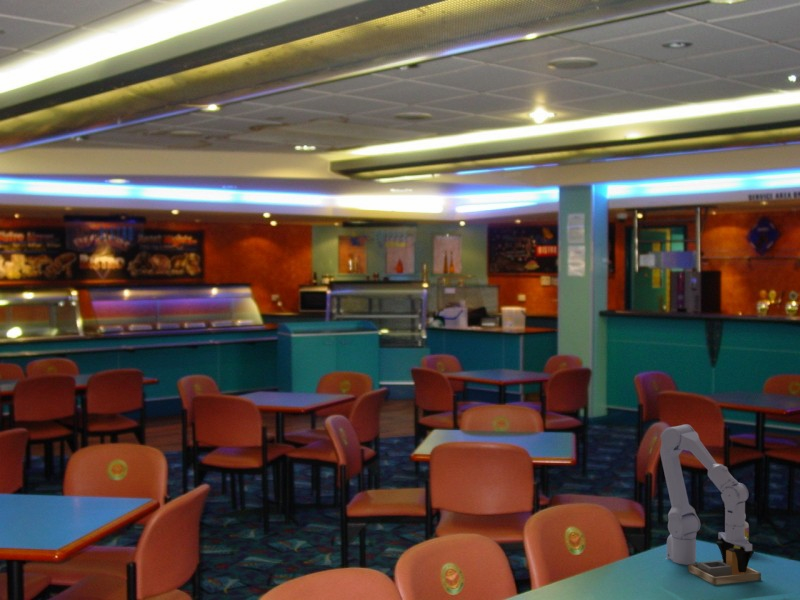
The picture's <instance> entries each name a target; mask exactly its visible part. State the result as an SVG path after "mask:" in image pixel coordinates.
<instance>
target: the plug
mask: <svg viewBox="0 0 800 600" xmlns="http://www.w3.org/2000/svg"><path fill="white" fill-rule="evenodd" d="M734 549H738V548H730V549H729V550H726V564H728V565H730V566H732V575H739V574H743V572H739V571H738V562H737V557H736V554H735V551H734Z"/></svg>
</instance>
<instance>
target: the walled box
mask: <svg viewBox="0 0 800 600" xmlns="http://www.w3.org/2000/svg"><path fill="white" fill-rule="evenodd" d="M720 561H721V562H723V560H720ZM687 572H689V573H691V574H693V575H694V576H697V577H698V578H700V579H702V580H704V581H706V582H708V583H710V584H711V585H714V586H716V585H717V586H718V585H726V584H727V585H728V584H734V583H735V584H736V583H743V582H745V583H746V582H754V581H761V580H762V573H761V572H760V571H757V570H755V569H753V568H751V567H750V566H747V569H746V572H743V574H739V575H729V576H720V577H714V576H712V575H710V574H708V573H706V572H704V571H702V570H700V569H698V563H694V564H689V565H687Z"/></svg>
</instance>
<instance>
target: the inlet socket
mask: <svg viewBox="0 0 800 600" xmlns="http://www.w3.org/2000/svg"><path fill="white" fill-rule="evenodd" d="M721 561H722V560H710V561H702V562H701V561H700V562H697V564H698V569H700V570H702V571H704V572H706V573H708V574H710V575H712V576H714V577H720V576H729V575H732V566H730V565H728V564H726V563H724V562H721Z"/></svg>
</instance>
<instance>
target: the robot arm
mask: <svg viewBox="0 0 800 600" xmlns="http://www.w3.org/2000/svg"><path fill="white" fill-rule="evenodd" d="M660 440H661V444H660V449H659V455H660V458H661V459H660V460H661V464H662V468H663V472H664V473H663V474H664V477H665V483H666V487H667V492H668V495H669V501H670V506H671V508H670V510H669V511H668V514H667V518H668V523H667V529H668V532H669V535H668V537H667V539H666V558H664V560H671V561H672V562H674V563H675V564H679V565H687V566H688V565H689V564H697V563H696V562H697V561H696V560H697V555H696V554H697V552H696V551H697V540H696V539H697V532H698V531H699V530H700V528H701V521H700V518H699V517H698V515H697V513H696V510H695V508H694V507H693V506H692V505H691V504H690V502H689V497H688V493H687V488H686V484H685V480H684V476H683V470H682V466H681V461H680V457H679V455H680V454H681V453H682V451H683V450H684V451H687V452H690V453H692V454H693V456H694V457H695V458H696V459H697V460H698V461H699V462H700V463H701V464H702V465H703V466H704V468H706V469H707V477H708V478H709V479H710V481H711V482H712V483H713V484H714V486H715V487H716V488H717V489H718V490H719V491H720V493H721V494H720V496H721V500H722V502H723V504H724V508H725V509H724V532H723V531H721V532H720V531H719V532H718V535H717V536H718V541H716V545H717V547H718V549H719V552H720V554H721V558H722V561H723V562H724V563H726V550H729V549H730V548H734V545H736V546H738V547H740V549H734V551H735V554H736V557H737V562H738V571H739V572H746V569H747V567H749V562H750V560H751V558H752V556H753V554H754V552H755V550H754V549H753V543H750V541H749V542H748V541H747V540H748V538H747V537H745V521H746V518H745V514H746V501H747V500H748V499H749V494H750V493H749V490H748V488H747V485H745V484H744V483H741V482H738V480H737V479H735V478H734V476H733V475H732V474H731V473H730V471H729V468H728V467H727V466H725V465H724V464H722V463H718V462H717V461H716V460H715V459H714V457H713V456H712V454H710V452H709V450H708V449H707V448H706V447H705V445H704V444H703V442H702V441H701V440H700V436H699V433H698V432H697V431H695V428H694V427H692V426H691V425H690V424H686V423H685V424H683V423H682V424H681V425H677V426H676V425H675V426H668V427H666V428H665V429H664V430H663V431H662V433H660Z"/></svg>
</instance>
